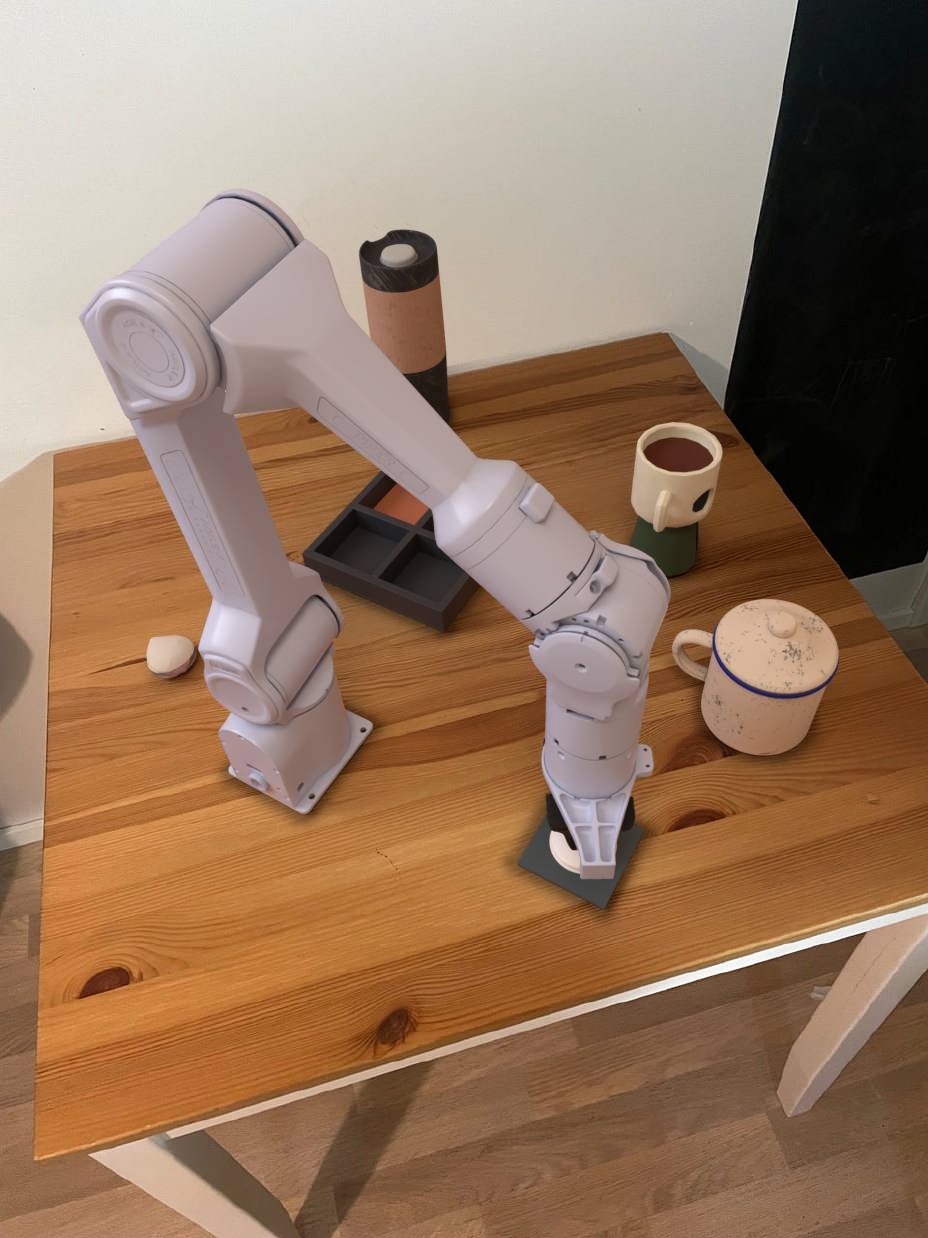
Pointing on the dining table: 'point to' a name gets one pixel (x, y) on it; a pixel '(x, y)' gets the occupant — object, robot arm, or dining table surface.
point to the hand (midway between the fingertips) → (583, 827)
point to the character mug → (673, 492)
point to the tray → (391, 556)
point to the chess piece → (565, 852)
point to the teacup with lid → (762, 674)
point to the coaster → (590, 890)
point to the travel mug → (408, 310)
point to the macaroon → (170, 655)
